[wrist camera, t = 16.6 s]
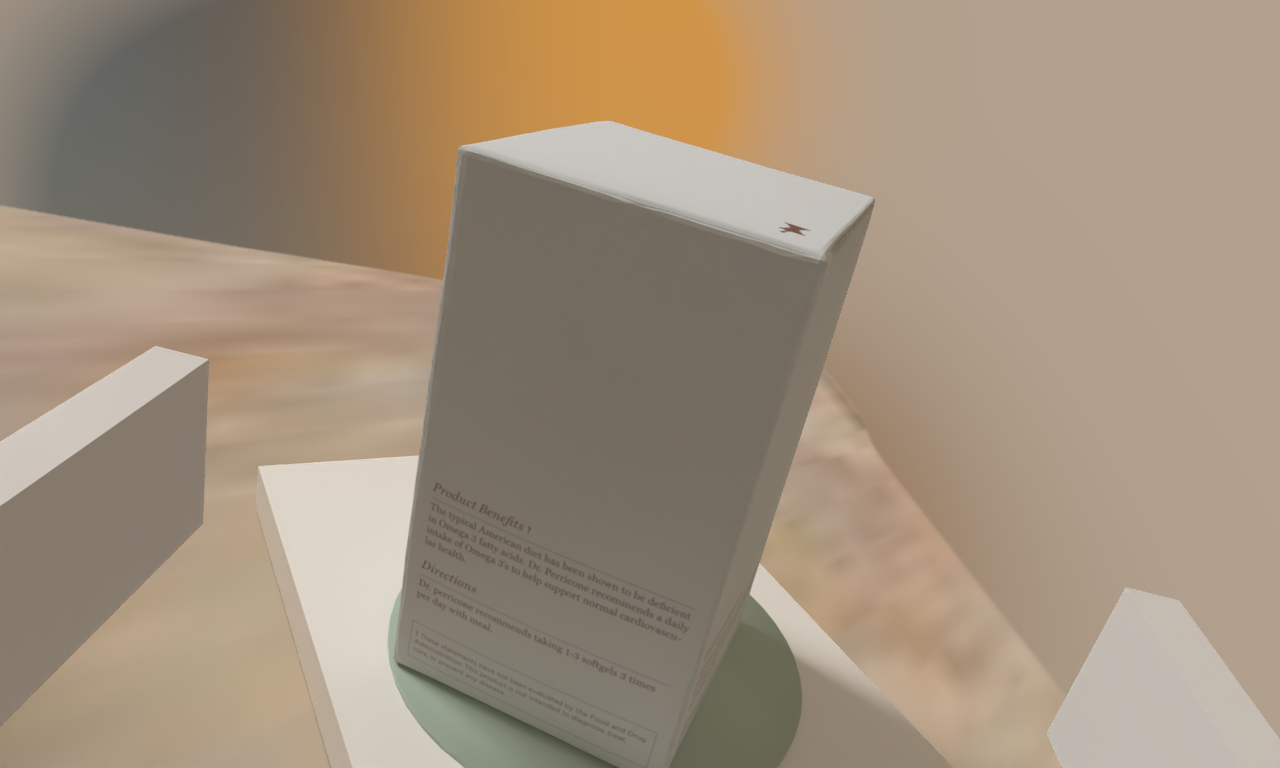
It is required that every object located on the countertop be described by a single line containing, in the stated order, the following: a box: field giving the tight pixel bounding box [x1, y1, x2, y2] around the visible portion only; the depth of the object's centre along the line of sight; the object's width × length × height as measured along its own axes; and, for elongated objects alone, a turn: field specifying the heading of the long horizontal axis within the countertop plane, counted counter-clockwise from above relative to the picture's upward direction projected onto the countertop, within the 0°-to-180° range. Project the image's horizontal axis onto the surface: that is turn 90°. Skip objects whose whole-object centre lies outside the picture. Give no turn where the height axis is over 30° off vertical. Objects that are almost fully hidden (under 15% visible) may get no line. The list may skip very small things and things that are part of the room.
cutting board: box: [256, 456, 952, 768], centre depth 25 cm, size 20×14×2 cm
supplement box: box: [393, 121, 875, 768], centre depth 22 cm, size 7×7×13 cm
